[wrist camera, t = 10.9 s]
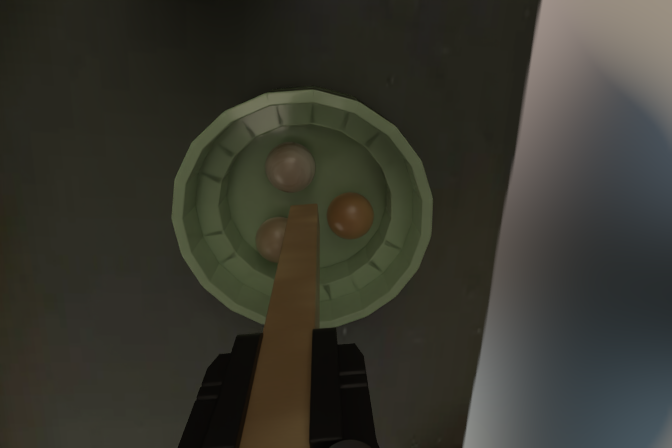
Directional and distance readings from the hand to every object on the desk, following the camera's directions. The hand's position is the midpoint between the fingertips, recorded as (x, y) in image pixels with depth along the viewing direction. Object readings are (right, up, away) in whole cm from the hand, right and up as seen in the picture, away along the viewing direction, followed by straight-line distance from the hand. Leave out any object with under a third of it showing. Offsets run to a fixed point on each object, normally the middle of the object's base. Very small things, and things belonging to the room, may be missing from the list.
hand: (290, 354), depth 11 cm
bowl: (0, +6, +13) cm, 15 cm away
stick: (0, +4, +10) cm, 11 cm away
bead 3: (+2, +5, +12) cm, 13 cm away
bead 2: (-1, +7, +10) cm, 13 cm away
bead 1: (-2, +3, +12) cm, 13 cm away
